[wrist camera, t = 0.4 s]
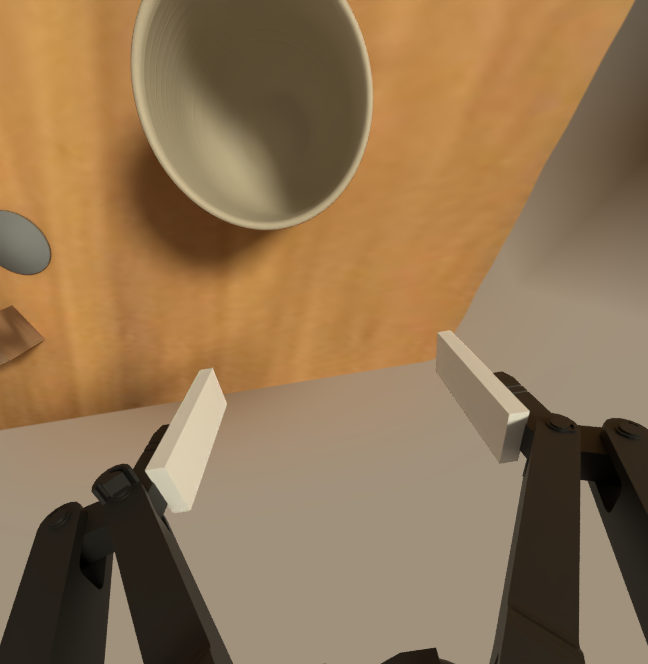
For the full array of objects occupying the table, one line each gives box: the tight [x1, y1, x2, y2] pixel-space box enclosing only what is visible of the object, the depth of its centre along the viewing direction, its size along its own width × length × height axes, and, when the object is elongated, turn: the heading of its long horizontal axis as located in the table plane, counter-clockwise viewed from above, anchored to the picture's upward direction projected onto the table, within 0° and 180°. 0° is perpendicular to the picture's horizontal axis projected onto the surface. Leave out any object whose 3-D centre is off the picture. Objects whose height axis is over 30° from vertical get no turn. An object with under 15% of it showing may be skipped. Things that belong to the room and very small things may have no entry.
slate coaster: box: [0, 210, 51, 274], centre depth 38 cm, size 8×8×1 cm
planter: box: [131, 0, 373, 230], centre depth 28 cm, size 17×17×15 cm
